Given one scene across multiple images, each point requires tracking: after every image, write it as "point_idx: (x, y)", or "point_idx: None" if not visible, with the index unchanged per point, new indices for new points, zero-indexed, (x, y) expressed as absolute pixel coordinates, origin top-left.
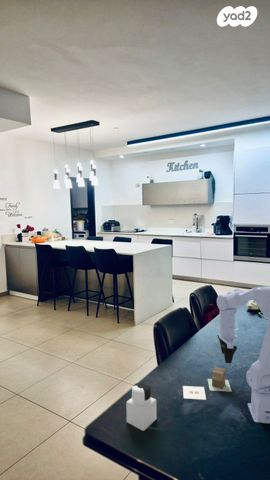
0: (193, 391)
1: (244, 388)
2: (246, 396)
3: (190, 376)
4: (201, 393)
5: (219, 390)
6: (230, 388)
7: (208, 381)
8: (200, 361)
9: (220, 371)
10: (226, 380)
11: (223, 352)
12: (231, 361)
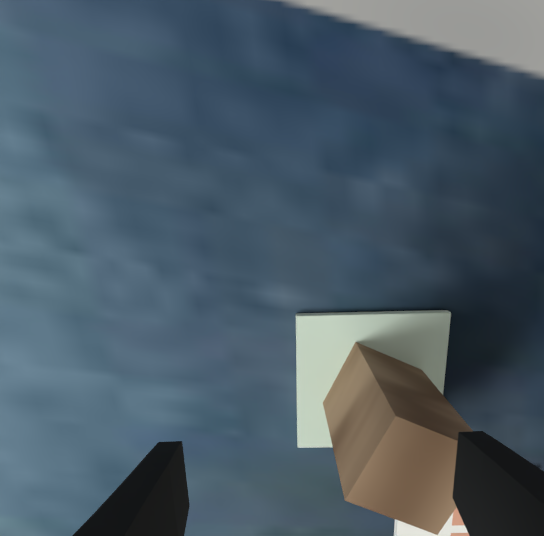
0: (451, 530)
1: (391, 209)
2: (495, 216)
3: (266, 532)
4: None
5: (439, 389)
6: (413, 315)
7: (331, 444)
8: (44, 466)
9: (442, 467)
10: (307, 327)
11: (182, 510)
12: (506, 448)
